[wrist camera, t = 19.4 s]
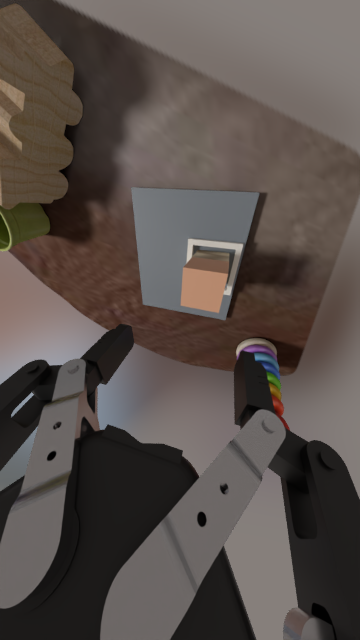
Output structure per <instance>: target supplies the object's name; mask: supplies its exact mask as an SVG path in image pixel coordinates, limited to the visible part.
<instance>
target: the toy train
mask: <svg viewBox="0 0 360 640" xmlns="http://www.w3.org/2000/svg"><path fill="white" fill-rule="evenodd" d="M73 77H74V66H73V63H72V62H71V61H70V60H69V59H68V58H67V57H66V56H65V54H64V53H63V52H62V51H61V50H60V49H59V48H58V47H57V46H56V44H55V43H54V42H53V41H52V40H51V39H50V38H49V37H48V35H47V34H46V33H45V32H44V31H43V30H42V29H41V28H40V27H39V25H38V24H37V23H36V22H35V21H34V20H33V19H32V18H31V17H30V15H29V14H28V13H27V12H26V11H25V10H24V9H23V8H22V7H21V6H20V5H18V4H16V3H14V4H11V5H9V6H6V7H3V8H0V205H1V206H2V207H3V208H5V209H8V210H9V209H12V208H13V207H14V206H16V205H17V204H18V203H20V202H22V203H52V202H53V200H56V199H60V198H62V197H63V196H64V195H65V194H66V192H67V190H68V182H67V179H66V178H65V176H64V175H63V174H62V173H61V172H60V171H59V170H61V169H63V168H65V167H67V166H68V165H69V164H70V163H71V161H72V159H73V146H72V144H71V142H70V141H69V140H68V139H67V138H66V137H65V136H64V132H65V127H66V124H68V125H72V126H73V125H76V124H78V123H79V121H80V120H81V118H82V115H83V105H82V103H81V100H80V98H79V97H78V96H77V95H76V94H75V92H74V91H73V90H72V86H73Z"/></svg>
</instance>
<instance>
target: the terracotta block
mask: <svg viewBox="0 0 360 640" xmlns="http://www.w3.org/2000/svg"><path fill="white" fill-rule="evenodd" d="M228 270H229V262H227V261H220V260H212V259H204V258H197V257H192V258H191V259H190V260H189V261H188V262H187V264H186V265H185V266H184V267H183V276H182V291H181V306H185V307H190V308H196V309H201V310H206V311H211V312H217V313H219V310H220V306H221V302H222V298H223V294H224V289H225V285H226V281H227V277H228Z"/></svg>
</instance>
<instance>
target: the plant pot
mask: <svg viewBox="0 0 360 640" xmlns="http://www.w3.org/2000/svg"><path fill="white" fill-rule="evenodd" d="M49 230H50V222H49V219H48V216H47V215H46V214H45V213H44V211H43V208H42V206H41V205H40V204H39V203H22V202H20V203H18V204H17V205H16V206H14V207H13V208H12V209H9V210H8V209H5V208H3V207H2V206H1V205H0V251H7V250H10V249H11V248H12V246H15V245H16V244H18V243H20V242H23V241H26V240H29V239H32V238H36V237H39V236H42V235H45V234H47V233H48V232H49Z"/></svg>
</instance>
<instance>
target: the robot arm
mask: <svg viewBox="0 0 360 640" xmlns="http://www.w3.org/2000/svg"><path fill="white" fill-rule="evenodd" d="M133 344H134V338H133V332H132V327H131V326H129V325H124V324H120V325H118V326H117V327H116V329H112V330H110V331H108V332H106V334H104V335H103V336H102V337H101V339H99V340H98V341H97V343H95V344H94V345H93V346H92V347H91V348H90V349H89V350H88V351H87V352H86V353H85V354H84V355H83V356H82V357H81V358H80V359H73V360H70V361H68V362H66V363H65V364H64V365H53V366H49V364H48V363H47V362H46V361H45V360H35V361H32V362H30V363H28V364H26V365H25V366H23V367H22V368H21V369H19V370H18V371H17V372H16V373H14V374H13V375H12V376H11V377H9V378H8V379H7V380H6V381H5V382H3V383H2V384H1V385H0V471H1V469H2V468H3V467H4V466H5V465H6V463H7V462H8V461H9V460H10V459H11V457H12V456H13V455H14V454H15V452H16V451H17V450H18V449H19V448H20V447H21V445H22V444H23V443H24V442H25V440H26V439H27V438H28V437H29V436H30V434H31V433H32V432H33V431H34V430H35V429H36V427H37V426H38V429H37V433H36V437H35V440H34V444H33V448H32V451H31V456H30V459H29V463H28V467H27V470H26V474H25V475H24V476H23V477H21V478H20V479H18V480H17V481H15V482H14V483H12V484H11V485H9V486H8V487H6V488H5V489H4V490H2V491H0V640H256V637H255V634H254V632H253V629H252V626H251V623H250V620H249V617H248V614H247V612H246V609H245V606H244V603H243V600H242V597H241V594H240V591H239V588H238V585H237V583H236V580H235V577H234V574H233V571H232V568H231V565H230V562H229V559H228V557H227V554H226V551H225V548H224V544H225V542H226V540H227V539H228V537H229V535H230V534H231V532H232V530H233V529H234V527H235V525H236V524H237V522H238V520H239V519H240V517H241V515H242V514H243V512H244V510H245V509H246V507H247V505H248V504H249V502H250V500H251V499H252V497H253V495H254V494H255V492H256V491H257V489H258V487H259V485H260V483H261V481H262V475H263V473H264V471H265V470H266V468H267V467H268V468H269V469H271V470H272V471H274V472H275V473H276V474H278V475H279V476H280V477H281V483H282V491H283V498H284V506H285V513H286V521H287V528H288V535H289V543H290V550H291V557H292V565H293V572H294V579H295V587H296V594H297V600H298V608H292V609H291V610H289V612H288V613H287V615H286V617H285V621H284V628H283V629H284V630H283V639H284V640H360V499H359V497H358V495H357V492H356V490H355V487H354V484H353V482H352V479H351V477H350V474H349V472H348V469H347V467H346V465H345V463H344V461H343V460H342V458H341V457H340V456H339V455H338V454H337V452H336V451H335V450H333V449H332V448H331V447H330V446H328V445H327V444H325V443H323V442H321V441H317V440H313V441H310V442H307V441H306V440H304V439H302V438H301V437H299V436H297V435H296V434H294V433H292V432H291V431H289V430H288V429H287V428H286V427H285V426H284V425H283V423H282V422H281V420H280V419H279V418H278V417H277V415H276V413H275V409H274V404H273V400H272V395H271V390H270V386H269V381H268V376H267V372H266V369H265V368H264V366H263V365H262V363H260V362H256V361H255V355H254V353H252V352H247V351H243V350H242V351H241V352H240V355H239V357H238V360H237V362H236V365H235V369H234V408H235V424H236V425H239V426H240V427H241V430H240V431H239V433H238V434H237V435H236V436H235V437H234V439H233V440H232V441H230V443H228V445H227V446H226V447H225V448H224V449H223V450H222V452H221V453H220V454H219V455H218V456H217V457H216V459H215V460H214V461H213V463H211V464H210V466H209V467H208V468H207V469H206V470H205V471H204V473H203V474H202V475H201V476H200V477H199V475H198V474H197V472H196V470H195V469H194V467H193V466H192V465H191V463H190V462H189V461H188V460H187V459H185V458H184V457H183V456H182V452H183V451H182V450H179V449H177V448H174V447H171V446H168V445H165V444H143V443H140V442H139V441H137V440H136V439H135V438H134V437H132V436H131V435H130V434H129V433H127V432H126V431H125V430H122V429H119V428H116V427H114V426H111V425H107V427H106V428H105V430H100V428H99V422H98V417H97V394H98V392H97V386H98V385H99V384H100V383H102V384H105V385H106V384H107V383H108V381H109V380H110V378H111V377H112V376H113V374H114V373H115V371H116V370H117V369H118V367H119V366H120V364H121V363H122V361H123V360H124V359H125V357H126V356H127V355H128V353H129V352H130V350H131V349H132V347H133ZM31 392H32V393H33V394H34V395H33V396H32V398H30V399H29V400H28V401H27V402H26V403H25V404H24V405H23V407H22V408H21V409H20V410H19V411H18V412H17V413H16V414H15V415H14V416H13V417H12V418H11V414H12V412H13V410H14V409H15V408H16V407H17V406H18V405H19V404H20V403H21V402H22V401H23V400H24V399H25V398H26V397H27V396H28V395H29V394H30V393H31Z"/></svg>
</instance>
